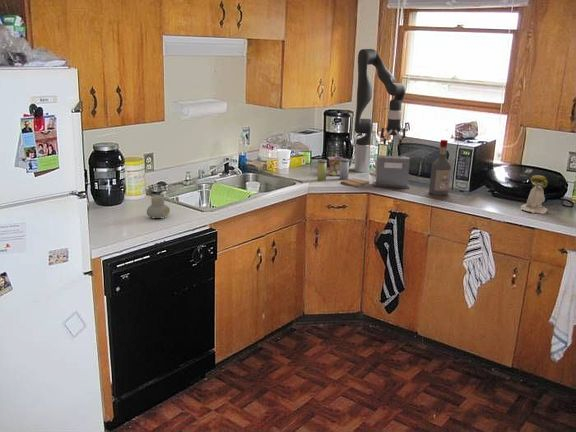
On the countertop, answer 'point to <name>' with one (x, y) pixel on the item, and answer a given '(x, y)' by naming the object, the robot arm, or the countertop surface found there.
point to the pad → (354, 182)
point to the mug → (334, 165)
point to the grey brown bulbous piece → (157, 207)
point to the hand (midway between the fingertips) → (392, 145)
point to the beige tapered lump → (536, 195)
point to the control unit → (392, 171)
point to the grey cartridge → (344, 169)
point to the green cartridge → (322, 170)
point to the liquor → (440, 173)
